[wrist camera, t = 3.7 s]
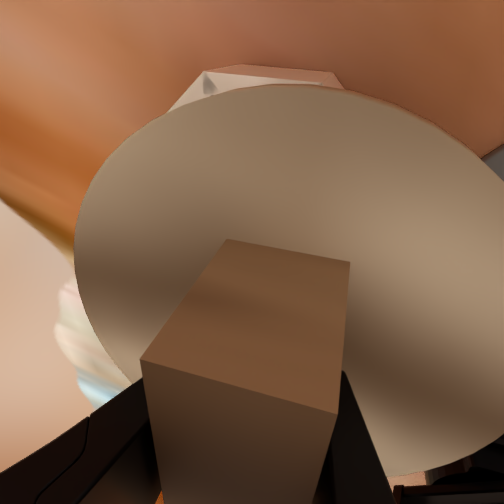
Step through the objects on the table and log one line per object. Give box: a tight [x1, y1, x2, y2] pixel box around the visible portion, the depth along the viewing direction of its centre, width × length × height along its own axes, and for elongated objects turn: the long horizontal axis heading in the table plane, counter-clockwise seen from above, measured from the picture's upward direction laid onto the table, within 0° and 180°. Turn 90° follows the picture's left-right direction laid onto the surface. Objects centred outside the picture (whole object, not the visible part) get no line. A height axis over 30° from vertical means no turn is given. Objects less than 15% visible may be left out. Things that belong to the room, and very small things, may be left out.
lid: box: [74, 84, 504, 504], centre depth 9 cm, size 13×13×5 cm
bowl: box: [167, 64, 344, 113], centre depth 18 cm, size 11×11×5 cm
